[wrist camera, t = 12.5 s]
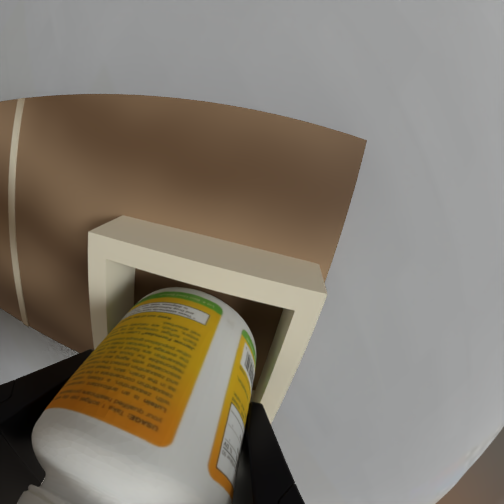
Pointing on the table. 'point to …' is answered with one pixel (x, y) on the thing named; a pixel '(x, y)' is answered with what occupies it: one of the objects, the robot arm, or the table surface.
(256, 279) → the socket
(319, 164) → the board
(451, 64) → the table surface
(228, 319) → the supplement bottle
